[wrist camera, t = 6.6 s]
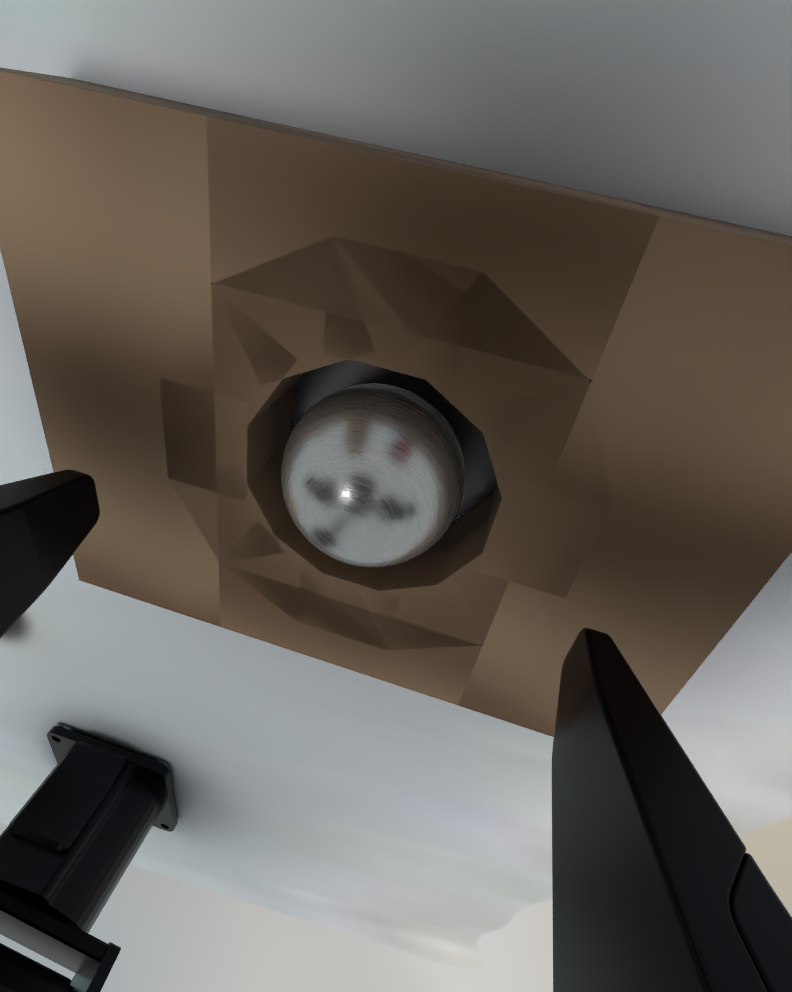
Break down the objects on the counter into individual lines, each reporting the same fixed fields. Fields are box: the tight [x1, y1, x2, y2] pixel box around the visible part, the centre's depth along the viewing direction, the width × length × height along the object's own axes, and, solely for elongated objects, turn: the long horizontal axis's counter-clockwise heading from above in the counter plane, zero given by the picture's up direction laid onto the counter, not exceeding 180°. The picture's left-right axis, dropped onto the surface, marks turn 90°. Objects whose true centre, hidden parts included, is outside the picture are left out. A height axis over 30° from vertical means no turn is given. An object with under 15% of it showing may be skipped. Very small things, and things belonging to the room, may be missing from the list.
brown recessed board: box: [0, 68, 792, 737], centre depth 12 cm, size 12×16×2 cm
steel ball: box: [281, 383, 465, 567], centre depth 12 cm, size 4×4×4 cm
